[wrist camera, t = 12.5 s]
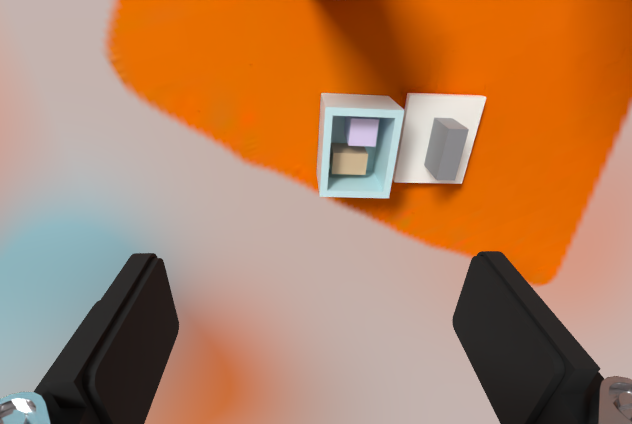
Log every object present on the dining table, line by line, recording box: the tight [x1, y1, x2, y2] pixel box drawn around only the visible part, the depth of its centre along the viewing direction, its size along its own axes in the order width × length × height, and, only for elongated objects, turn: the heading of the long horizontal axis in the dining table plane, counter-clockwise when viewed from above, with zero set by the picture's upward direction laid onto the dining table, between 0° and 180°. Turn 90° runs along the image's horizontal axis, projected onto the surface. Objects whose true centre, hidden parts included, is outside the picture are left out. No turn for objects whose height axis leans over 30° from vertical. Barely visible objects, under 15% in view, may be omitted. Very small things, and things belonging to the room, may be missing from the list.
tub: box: [317, 93, 405, 198], centre depth 40 cm, size 10×8×7 cm
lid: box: [393, 93, 486, 184], centre depth 41 cm, size 11×9×6 cm
